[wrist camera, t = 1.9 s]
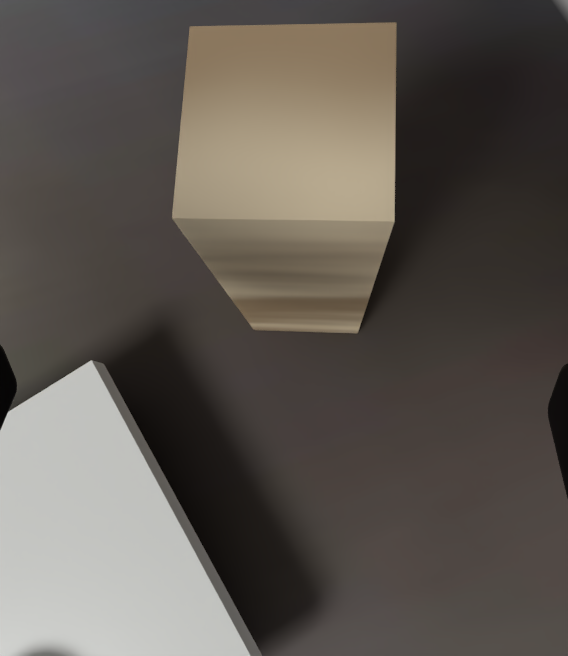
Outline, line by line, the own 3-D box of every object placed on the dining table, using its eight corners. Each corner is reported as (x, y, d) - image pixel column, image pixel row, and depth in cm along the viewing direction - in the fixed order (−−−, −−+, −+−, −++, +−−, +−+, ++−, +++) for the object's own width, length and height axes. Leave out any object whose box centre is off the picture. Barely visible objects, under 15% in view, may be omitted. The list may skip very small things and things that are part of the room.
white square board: (281, 662, 18) (274, 700, 15) (31, 825, 18) (-19, 892, 15) (120, 368, 20) (91, 360, 18) (-102, 507, 20) (-165, 518, 17)
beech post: (357, 333, 20) (394, 221, 9) (253, 330, 20) (171, 218, 9) (359, 234, 21) (396, 22, 10) (259, 232, 21) (189, 26, 10)
